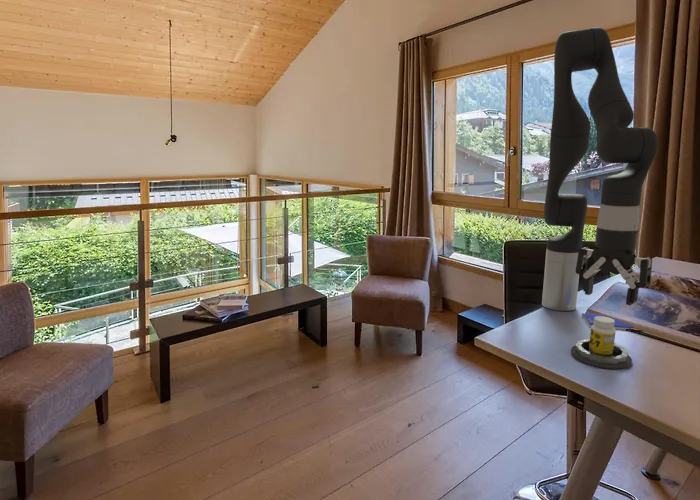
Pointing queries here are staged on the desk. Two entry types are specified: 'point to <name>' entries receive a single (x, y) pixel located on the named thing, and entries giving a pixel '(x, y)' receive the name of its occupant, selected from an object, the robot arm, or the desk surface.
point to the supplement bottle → (602, 336)
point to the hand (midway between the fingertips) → (608, 299)
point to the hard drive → (590, 317)
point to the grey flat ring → (601, 357)
